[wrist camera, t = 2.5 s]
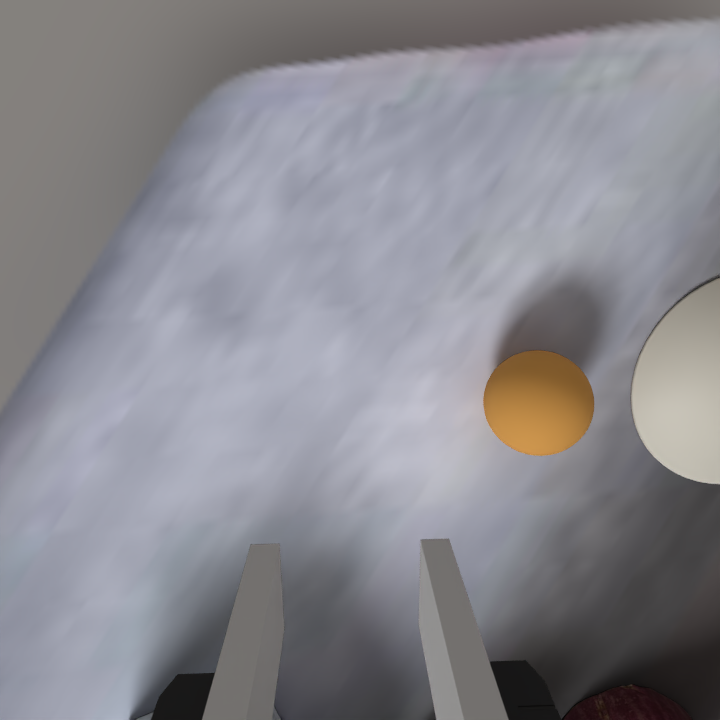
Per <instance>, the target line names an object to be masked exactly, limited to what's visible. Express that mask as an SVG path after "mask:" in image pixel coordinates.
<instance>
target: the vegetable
mask: <svg viewBox="0 0 720 720" xmlns="http://www.w3.org/2000/svg"><path fill="white" fill-rule="evenodd" d="M563 720H692V718H691V717H690V715H689V714H688V713H687V712H686V711H685V710H684V709H683V708H682V707H681V706H680V705H679V704H677V703H675V702H674V701H673V700H671V699H669V698H667V697H666V696H664V695H662V694H660V693H658V692H656V691H655V690H652V689H650V688H647V687H639V686H636V685H633V684H630V685H628V686H620V687H617V688H612V689H610V690H607V691H605V692H602V693H599V694H598V695H594V696H592V697H590V698H587V699H585V700H583V701H582V702H580V703H578V704H577V705H575V707H573V708H572V709H571V710H570V712H569V713H568V714H567V715H566V716H565V717H564V718H563Z"/></svg>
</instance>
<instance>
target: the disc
mask: <svg viewBox="0 0 720 720" xmlns="http://www.w3.org/2000/svg"><path fill="white" fill-rule="evenodd" d="M631 410H632V415H633V420H634V424H635V427H636V429H637V432H638V434H639V436H640V438H641V440H642V442H643V443H644V445H645V447H646V448H647V449H648V450H649V452H650V453H651V454H652V455H653V456H654V457H655V458H656V459H657V460H658V461H659V462H660V463H661V464H663V465H664V466H665V467H667V468H668V469H670V470H671V471H673V472H674V473H677V474H679V475H681V476H683V477H685V478H688V479H691V480H695V481H698V482H704V483H710V484H720V278H717V279H715V280H713V281H711V282H709V283H707V284H705V285H703V286H701V287H699V288H698V289H696V290H695V291H693V292H691V293H690V294H688V295H687V296H686V297H684V298H683V299H682V300H681V301H679V302H678V303H677V304H676V305H675V306H674V307H673V308H672V309H671V310H670V311H669V312H668V313H667V314H666V315H665V316H664V317H663V318H662V319H661V320H660V322H659V323H658V324H657V325H656V327H655V328H654V329H653V331H652V332H651V334H650V336H649V337H648V339H647V340H646V342H645V344H644V346H643V348H642V350H641V353H640V355H639V357H638V360H637V363H636V366H635V369H634V374H633V379H632V384H631Z"/></svg>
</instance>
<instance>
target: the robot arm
mask: <svg viewBox="0 0 720 720" xmlns="http://www.w3.org/2000/svg"><path fill="white" fill-rule="evenodd" d="M419 629H420V634H421V640H422V645H423V651H424V656H425V661H426V667H427V672H428V677H429V683H430V688H431V693H432V699H433V704H434V710H435V715H436V720H561V718H560V716H559V714H558V711H557V709H555V704H554V702H553V700H552V697H551V695H550V693H549V691H548V688H547V686H546V684H545V681H544V680H543V679H542V678H541V677H540V675H539V674H538V673H537V672H536V671H535V670H534V669H533V668H532V667H531V666H530V665H529V664H528V662H527V661H526V660H524V661H496V662H489V659H488V656H487V653H486V650H485V647H484V644H483V641H482V638H481V635H480V632H479V629H478V626H477V623H476V620H475V617H474V613H473V610H472V607H471V604H470V601H469V598H468V595H467V592H466V589H465V586H464V583H463V580H462V577H461V574H460V571H459V568H458V565H457V562H456V559H455V556H454V553H453V550H452V547H451V544H450V541H449V539H424V540H421V545H420V590H419ZM283 637H284V612H283V595H282V578H281V560H280V544H251V545H250V549H249V552H248V556H247V560H246V563H245V567H244V570H243V574H242V578H241V581H240V585H239V588H238V592H237V596H236V599H235V603H234V606H233V610H232V614H231V617H230V621H229V624H228V628H227V632H226V635H225V639H224V642H223V646H222V650H221V653H220V657H219V660H218V664H217V668H216V671H215V673H201V674H178V675H177V676H176V677H175V678H174V679H173V681H172V682H171V683H170V684H169V685H168V687H167V688H166V689H165V690H164V692H163V693H162V694H161V695H160V697H159V699H158V702H157V704H156V707H155V710H154V712H153V715H152V718H151V720H272V716H273V708H274V701H275V694H276V687H277V680H278V672H279V665H280V658H281V651H282V644H283Z"/></svg>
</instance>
